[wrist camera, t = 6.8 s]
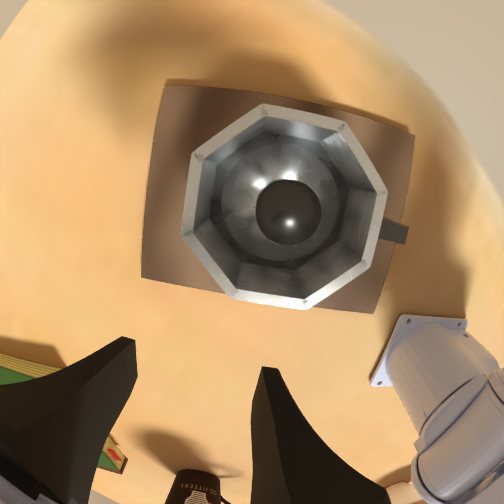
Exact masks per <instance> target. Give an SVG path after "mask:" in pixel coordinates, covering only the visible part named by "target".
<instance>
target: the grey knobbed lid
mask: <svg viewBox="0 0 504 504" xmlns="http://www.w3.org/2000/svg"><path fill="white" fill-rule="evenodd" d="M221 205H222V213H223V218H224V221H225V224H226V226H227V228H228V230H229V232H230V233H231V235H232V237H233V238H234V239H235V240H236V241H237V243H238V244H240V245H241V246H242V247H243V248H244V249H246V250H247V251H248V252H250V253H252V254H254V255H256V256H258V257H261V258H264V259H268V260H276V261H286V260H292V259H296V258H300V257H302V256H304V255H307V254H308V253H310V252H312V251H313V250H315V249H316V248H317V247H319V246H320V245H321V244H322V243H323V242H324V241H325V239H326V238H327V237H328V236H329V234H330V232H331V231H332V229H333V227H334V224H335V222H336V218H337V215H338V208H339V197H338V191H337V187H336V183H335V181H334V178H333V176H332V175H331V173H330V171H329V170H328V168H327V167H326V166H325V164H324V163H323V162H322V161H321V160H320V159H319V158H317V157H316V156H315V155H313V154H312V153H310V152H308V151H307V150H304V149H302V148H300V147H296V146H292V145H286V144H274V145H267V146H264V147H260V148H258V149H256V150H253V151H252V152H250V153H248V154H247V155H245V156H244V157H243V158H241V159H240V160H239V161H238V162H237V163H236V164H235V166H234V167H233V168H232V170H231V171H230V173H229V175H228V177H227V178H226V181H225V184H224V187H223V191H222V199H221Z"/></svg>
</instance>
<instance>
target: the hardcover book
mask: <svg viewBox="0 0 504 504" xmlns="http://www.w3.org/2000/svg"><path fill="white" fill-rule="evenodd" d="M61 369H63V368H58V367H53V366H49V365H44V364H40V363H35V362H31V361H27V360H24V359H20V358H16V357H13V356H9V355H6V354H2V353H0V385H3V384H12V383H18V382H23V381H27V380H31V379H35V378H38V377H42V376H45V375H48V374H51V373H53V372H56V371H59V370H61ZM127 461H128V459H127V458H126V457H125V456H124V455H123V454H122V453H121V451H120V450H119V449H118V447H117V446H116V445H115V443H114V442H113V441H112V439H111V438H110V436H109V435H108V437H107V440H106V442H105V445H104V447H103V450H102V453H101V456H100V459H99V462H98V465H97V467H98V468H101V469H104V470H107V471H111V472H114V473H118V474H122V473H123V471H124V468H125V466H126V463H127Z"/></svg>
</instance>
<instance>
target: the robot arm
mask: <svg viewBox="0 0 504 504" xmlns="http://www.w3.org/2000/svg"><path fill="white" fill-rule="evenodd" d="M408 319H409V320H408ZM407 320H408V321H407ZM406 321H407V322H406ZM467 325H468V320H467V319H463V318H447V317H433V316H421V315H409V314H403V315H401V316H400V317H399V318H398V321H397V323H396V326H395V328H394V330H393V333H392V335H391V338H390V340H389V342H388V344H387V347H386V349H385V351H384V353H383V355H382V358H381V360H380V362H379V364H378V366H377V368H376V370H375V372H374V374H373V376H372V378H371V380H370V385H371V386H372V387H379V386H393V387H394V389H395V391H396V392H397V394H398V396H399V398H400V400H401V402H402V404H403V405H404V407H405V409H406V411H407V413H408V415H409V417H410V419H411V421H412V423H413V425H414V427H415V429H416V431H417V433H418V435H419V438H418V440H417V441H416V442H415V443H414V446H415V448H416V450H417V452H418V453H417V454H416V455H415V457H414V458H413V460H412V462H411V480H412V484H413V486H414V489H415V490H416V492H417V493H418V495H419V496H420V497H421V498H422V499H423V500H424V501H426V502H428V503H430V504H504V368H501V369H500V368H499V365H498V362H497V360H496V359H495V358H494V356H493V355H492V354H491V353H490V352H489V351H487V350H486V349H485V348H484V347H483V346H482V345H481V344H480V343H479V342H478V341H477V340H476V339H475V338H474V337H473V336H472V335H471V334H470V333H468V332H467V331H466V330H465V329H466V327H467ZM137 377H138V374H137V361H136V345H135V340H133V339H130V338H127V337H123V336H122V337H120V338H118V339H116V340H115V341H113V342H111V343H110V344H108V345H106V346H105V347H103V348H101V349H100V350H98V351H96V352H94V353H93V354H91V355H89V356H87V357H86V358H84V359H82V360H80V361H78V362H76V363H74V364H72V365H70V366H68V367H66V368H63V369H61V370H59V371H56V372H53V373H51V374H48V375H45V376H42V377H38V378H35V379H31V380H27V381H23V382H18V383H12V384H3V385H0V504H88V500H89V495H90V490H91V486H92V482H93V478H94V475H95V471H96V468H97V465H98V462H99V459H100V456H101V453H102V450H103V447H104V445H105V442H106V440H107V437H108V435H109V433H110V431H111V429H112V428H113V426H114V424H115V422H116V420H117V418H118V417H119V415H120V413H121V411H122V409H123V408H124V406H125V404H126V402H127V400H128V398H129V397H130V395H131V392H132V390H133V387H134V385H135V382H136V379H137ZM379 381H380V382H379ZM251 440H252V460H253V478H252V492H251V503H250V504H391V500H390V497H389V495H388V493H387V490H386V489H385V488H383V487H381V486H380V485H378V484H376V483H374V482H373V481H371V480H369V479H368V478H366V477H364V476H363V475H361V474H360V473H359V472H357V471H356V470H354V469H353V468H352V467H350V466H349V465H348V464H347V463H346V462H344V461H343V460H342V459H341V458H340V457H339V456H338V455H337V454H335V453H334V452H333V451H332V450H331V449H330V448H329V447H328V446H327V445H326V444H325V442H324V441H323V440H322V439H321V438H320V437H319V436H318V434H317V433H316V432H315V431H314V429H313V428H312V427H311V425H310V424H309V423H308V421H307V420H306V418H305V417H304V416H303V414H302V413H301V411H300V409H299V408H298V406H297V404H296V403H295V401H294V399H293V398H292V396H291V394H290V392H289V390H288V388H287V386H286V384H285V382H284V380H283V378H282V376H281V374H280V371H279V370H278V369H277V368H271V367H263V366H262V368H261V372H260V375H259V379H258V383H257V386H256V390H255V393H254V397H253V400H252V412H251ZM497 466H498V467H497ZM496 467H497V468H496ZM495 468H496V469H495ZM494 469H495V470H494ZM493 470H494V471H493ZM492 471H493V472H492ZM488 474H489V475H488ZM487 475H488V476H487ZM486 476H487V477H486Z"/></svg>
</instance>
